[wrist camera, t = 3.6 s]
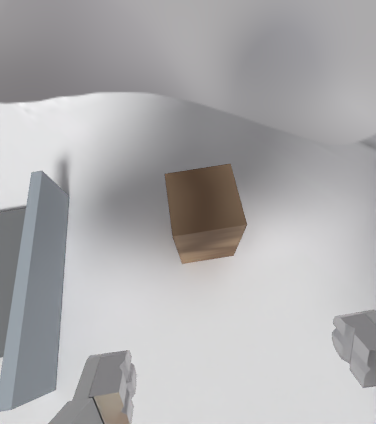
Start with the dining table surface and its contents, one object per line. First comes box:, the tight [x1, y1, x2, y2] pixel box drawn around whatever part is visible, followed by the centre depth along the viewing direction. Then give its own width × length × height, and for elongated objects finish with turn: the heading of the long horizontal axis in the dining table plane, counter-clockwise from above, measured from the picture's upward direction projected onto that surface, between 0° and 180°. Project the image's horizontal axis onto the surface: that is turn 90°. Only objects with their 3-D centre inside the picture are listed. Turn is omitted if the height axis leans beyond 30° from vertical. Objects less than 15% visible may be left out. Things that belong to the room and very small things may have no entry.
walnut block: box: [165, 164, 247, 264], centre depth 21 cm, size 5×5×8 cm
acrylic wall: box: [0, 171, 69, 412], centre depth 21 cm, size 1×18×5 cm, turn 8°
